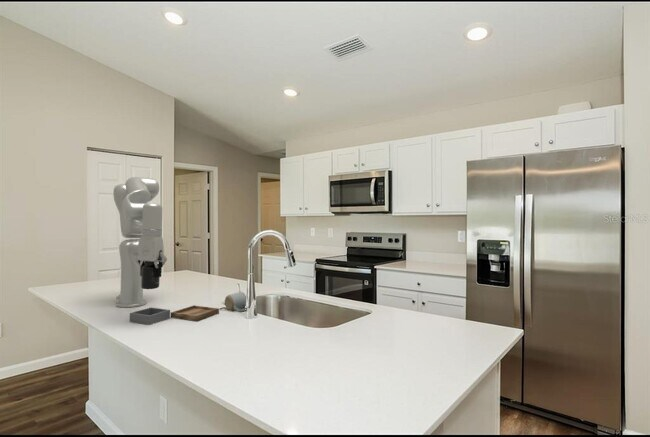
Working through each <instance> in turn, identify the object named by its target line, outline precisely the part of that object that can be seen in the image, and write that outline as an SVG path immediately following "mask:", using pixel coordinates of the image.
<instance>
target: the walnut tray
mask: <svg viewBox="0 0 650 437" xmlns="http://www.w3.org/2000/svg"><path fill="white" fill-rule="evenodd" d="M218 314H220V308H219V307H218V308H217V307H209V306H202V305H201V306H200V305H191V306H188V307H187V306H186V307H185V308H181V309H178V310H174V311H170V319H175V320H176V319H177V320H183V321H190V322H191V321H192V322H200V321H202V320H205V319H207V318H210V317H213V316H215V315H218Z"/></svg>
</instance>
